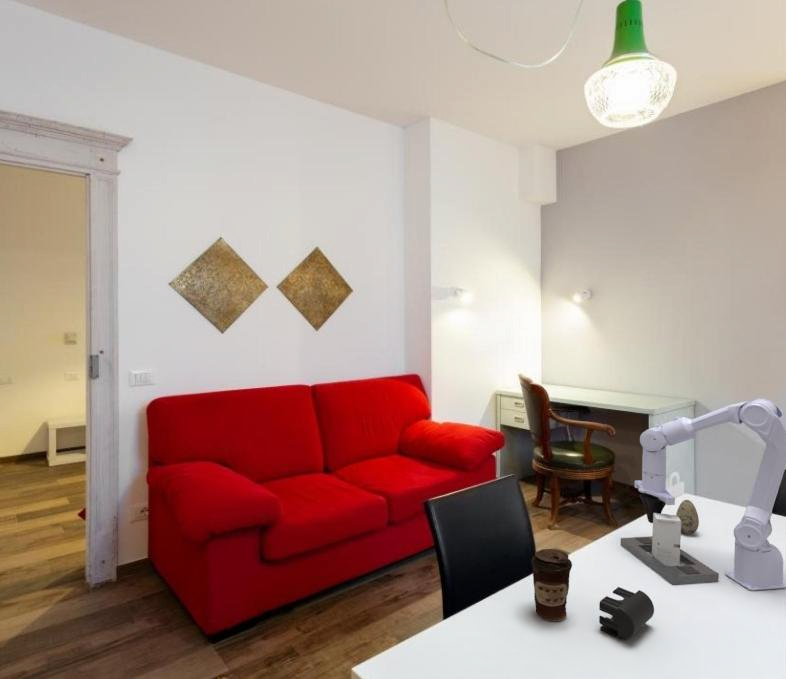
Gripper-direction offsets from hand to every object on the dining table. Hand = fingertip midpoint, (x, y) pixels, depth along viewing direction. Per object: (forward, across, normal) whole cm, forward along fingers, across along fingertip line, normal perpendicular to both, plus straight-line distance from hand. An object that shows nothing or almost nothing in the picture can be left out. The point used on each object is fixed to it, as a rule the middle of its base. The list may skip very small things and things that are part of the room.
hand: (653, 522), depth 140 cm
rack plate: (+8, +6, 0) cm, 10 cm away
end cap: (+9, +32, -27) cm, 42 cm away
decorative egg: (+9, -10, +18) cm, 23 cm away
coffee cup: (+9, +25, -40) cm, 48 cm away
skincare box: (+9, +6, 0) cm, 10 cm away
